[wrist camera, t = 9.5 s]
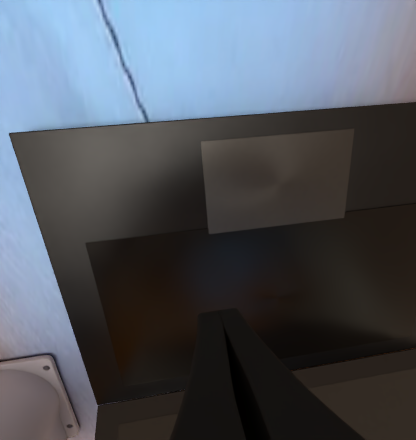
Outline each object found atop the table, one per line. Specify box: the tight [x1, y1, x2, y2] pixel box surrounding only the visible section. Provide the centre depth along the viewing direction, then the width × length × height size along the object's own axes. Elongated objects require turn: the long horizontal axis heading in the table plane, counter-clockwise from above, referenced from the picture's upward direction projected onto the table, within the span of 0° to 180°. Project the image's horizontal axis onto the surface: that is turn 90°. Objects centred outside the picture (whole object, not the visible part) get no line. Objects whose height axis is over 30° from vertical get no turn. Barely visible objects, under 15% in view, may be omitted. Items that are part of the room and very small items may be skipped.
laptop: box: [9, 102, 416, 405], centre depth 19 cm, size 21×30×2 cm
